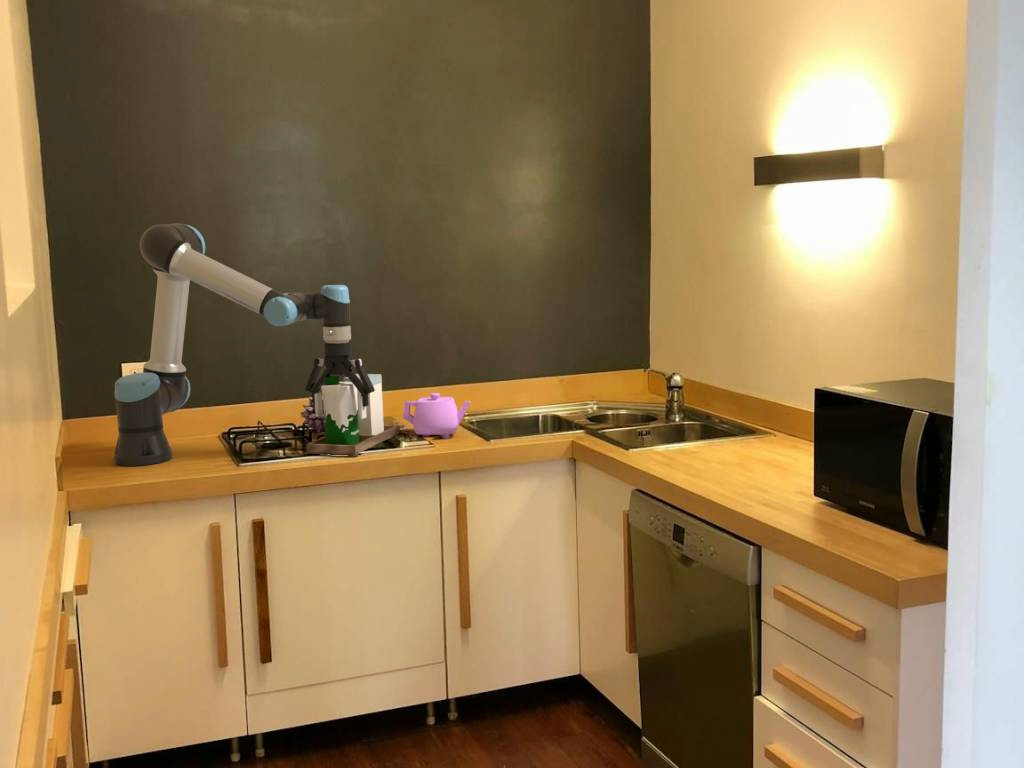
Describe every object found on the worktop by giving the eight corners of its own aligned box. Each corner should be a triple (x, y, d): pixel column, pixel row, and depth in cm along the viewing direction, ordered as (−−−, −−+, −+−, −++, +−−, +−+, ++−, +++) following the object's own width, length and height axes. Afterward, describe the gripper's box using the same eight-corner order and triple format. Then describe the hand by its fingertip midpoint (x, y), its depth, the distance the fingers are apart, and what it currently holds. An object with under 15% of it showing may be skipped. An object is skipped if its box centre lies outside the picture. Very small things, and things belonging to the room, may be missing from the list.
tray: (306, 454, 292) (306, 444, 292) (354, 433, 319) (354, 423, 319) (355, 457, 287) (355, 446, 287) (400, 435, 315) (399, 425, 314)
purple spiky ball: (293, 436, 318) (291, 397, 316) (314, 428, 329) (312, 390, 327) (327, 438, 314) (325, 398, 312) (347, 430, 325) (345, 392, 323)
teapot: (401, 441, 307) (399, 397, 305) (406, 432, 319) (404, 390, 317) (470, 439, 306) (468, 396, 304) (473, 430, 318) (471, 389, 316)
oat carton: (347, 439, 307) (343, 378, 305) (359, 433, 315) (356, 373, 312) (372, 440, 305) (369, 378, 302) (384, 434, 312) (381, 374, 310)
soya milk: (333, 443, 302) (329, 374, 299) (363, 444, 300) (360, 374, 297) (321, 450, 294) (317, 379, 290) (352, 450, 292) (348, 379, 289)
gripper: (290, 342, 292) (294, 417, 296) (372, 343, 285) (375, 421, 288) (304, 338, 300) (307, 412, 303) (384, 340, 292) (387, 416, 295)
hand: (341, 417), depth 295 cm, fingers open, 13 cm apart
